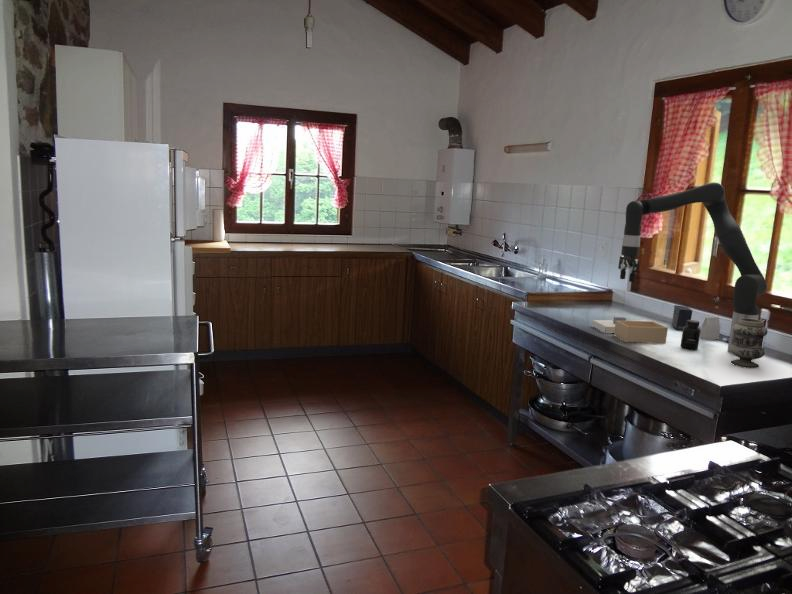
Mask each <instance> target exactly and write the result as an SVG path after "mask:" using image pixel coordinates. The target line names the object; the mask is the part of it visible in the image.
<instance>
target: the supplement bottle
mask: <svg viewBox="0 0 792 594" xmlns="http://www.w3.org/2000/svg"><path fill="white" fill-rule="evenodd" d="M686 325H687V326H685V327H684V328H683V330H682V333H681V334H682V335H681V340H680V348H681V349H683V350H687V351H697V350H698V349H699V345H700V339H701V338H700V335H701V328H700V321H698V320H695V319H691V320H687V323H686Z"/></svg>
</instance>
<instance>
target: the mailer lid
mask: <svg viewBox="0 0 792 594" xmlns="http://www.w3.org/2000/svg"><path fill="white" fill-rule="evenodd" d="M616 320H617V321H627V318H626V317H624V316H614V317H613V320H612V319H611V320H606V319H603V320H601V319H592V325H593V326H595V327H596V328H598V329H600V330H601V331H603V332H605V333H614V330H615V322H616ZM601 331H600V332H601ZM603 332H602V333H603Z"/></svg>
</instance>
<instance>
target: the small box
mask: <svg viewBox="0 0 792 594" xmlns="http://www.w3.org/2000/svg"><path fill="white" fill-rule="evenodd" d="M692 315H693V309H691V308H689V307H688V306H685V305H684V306H683V305H677V304H675V305H674V307H673V315H672V320H671V324H670V325H671V327H672V328H673V329H674V330H675V331H683V328H684V327H685V326H687V325H686V323H687V320H692Z"/></svg>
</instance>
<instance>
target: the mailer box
mask: <svg viewBox="0 0 792 594" xmlns="http://www.w3.org/2000/svg"><path fill="white" fill-rule="evenodd" d="M614 335H616V336H617V337H619V338H621V339H623V340H625V341H627V342H642V343H641V344H666V343H667V337H668V327H667V326H665V325H662V324H660V323H658V322H656V321H652V320H651V321H649V320H647V321H646V320H626V321H617V320H616V322H615V330H614V334H613V336H614ZM616 336H615V337H616ZM617 337H616V338H617ZM619 338H618V339H619ZM621 339H620V340H621ZM623 340H622V341H623ZM625 341H624V342H625ZM627 342H626V343H627Z"/></svg>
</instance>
